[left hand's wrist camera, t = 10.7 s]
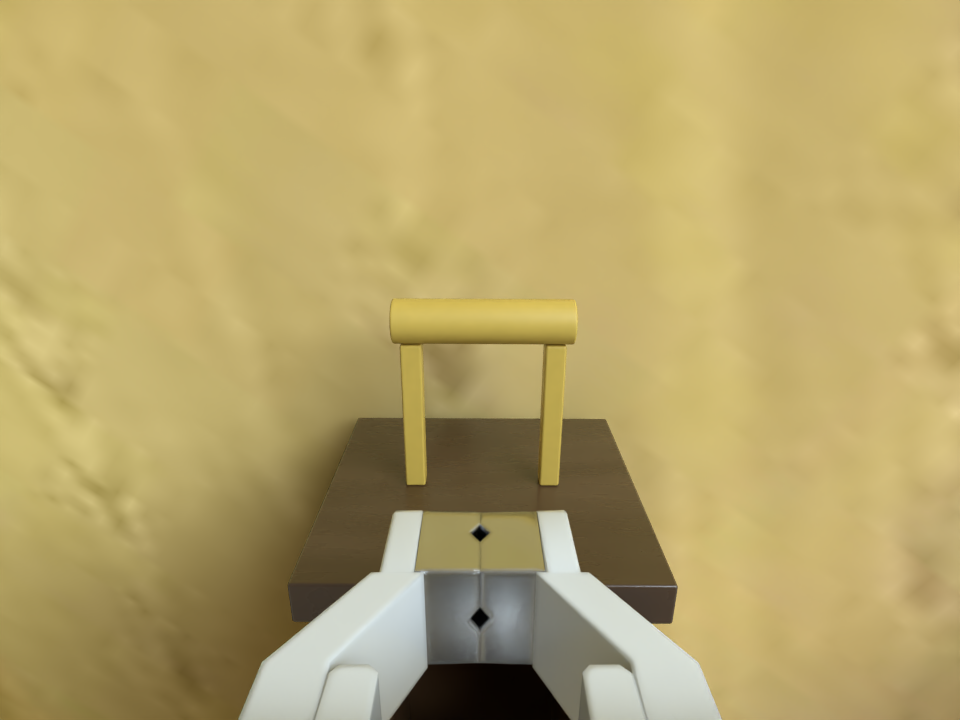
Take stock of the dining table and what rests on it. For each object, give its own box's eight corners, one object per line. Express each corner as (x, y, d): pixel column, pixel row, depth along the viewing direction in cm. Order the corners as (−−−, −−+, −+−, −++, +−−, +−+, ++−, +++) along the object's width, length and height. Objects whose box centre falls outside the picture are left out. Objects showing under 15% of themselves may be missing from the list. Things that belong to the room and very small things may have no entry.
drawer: (346, 265, 21) (254, 357, 12) (619, 266, 21) (714, 360, 12) (384, 756, 29) (345, 1005, 21) (575, 757, 29) (613, 1006, 21)
